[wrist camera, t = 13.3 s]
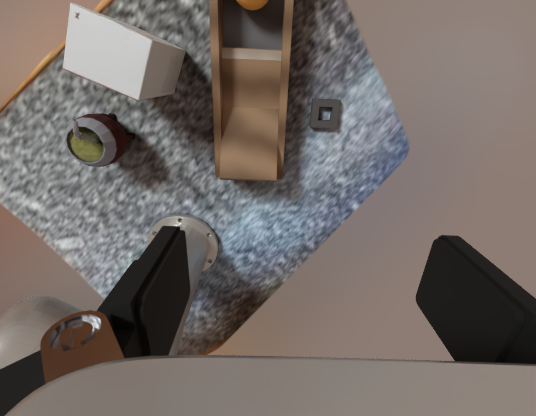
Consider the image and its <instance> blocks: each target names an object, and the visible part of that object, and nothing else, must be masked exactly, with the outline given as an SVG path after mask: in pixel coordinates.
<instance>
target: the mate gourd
mask: <svg viewBox="0 0 536 416" xmlns="http://www.w3.org/2000/svg"><path fill="white" fill-rule="evenodd" d="M134 138H135V134H134V133H125V132H124V130H123V129H122V127H121V126H120V125H119V124H118V123H117V122H116V118H115V114H110V113H109V114H108V115H107V114H87V115H84V116H82V117H79V118H77V119H73V121H72V122H71V123H70V124H69V126H68V127H67V129H66V133H65V143H66V147H67V149H68V151H69V152H70V154H71V155H72V156H73V157H74V158H75V159H76V160H78V161H79V162H81V163H83V164H86V165H88V166H94V167H101V166H106V165H109V164H112V163H115V162H116V161H117V160H118V159H119V158H120V157H121V156H122V155H123V154H124V152H125V149H126V146H127V142H128V141H129V140H130V139H134Z"/></svg>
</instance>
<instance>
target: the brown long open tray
mask: <svg viewBox="0 0 536 416" xmlns="http://www.w3.org/2000/svg"><path fill="white" fill-rule="evenodd" d="M293 3H294V0H268V2H267V3H266V4H265V5H264V6H263V7H262V8H260V9H257V10H248V9H245V8H243V7H242V6H241V5H239V3H238V2H237V1H236V0H209V15H210V41H211V68H212V94H213V121H214V148H215V174H216V177H219V178H220V179H221V180H248V181H275V182H276V179H282V177H283V161H284V145H285V129H286V113H287V98H288V82H289V66H290V50H291V34H292V19H293Z"/></svg>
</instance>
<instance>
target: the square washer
mask: <svg viewBox="0 0 536 416" xmlns="http://www.w3.org/2000/svg"><path fill="white" fill-rule="evenodd" d="M340 102H341V100H333V99H312V107H311V118H310V127H315V128H337V124H338V116H339V109H340ZM319 107H331V115H330V120H318V115H319Z"/></svg>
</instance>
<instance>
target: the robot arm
mask: <svg viewBox="0 0 536 416" xmlns="http://www.w3.org/2000/svg"><path fill="white" fill-rule="evenodd" d="M180 218H181V219H180ZM209 233H210V234H209ZM217 254H218V241H217V237H216V235H215V233H214V232H213V230H212V229H211V228H210V227H209V226H208V225H207V224H206V223H205V222H203V221H202V220H200V219H198V218H196V217H194V216H190V215H185V214H175V215H170V216H166V217H165V218H163V219H161V220H160V221H158V222H157V223H156V224H155V225H154V227H153V228H152V229H151V231H150V233H149V236H148V247H147V248H146V250H145V251H144V252H143V254H142V255H141V256H140V258H139V259H138V260H135V261H134V262H133V263H132V264H131V265H130V266H129V268H128V269H127V270H126V272H125V273H124V274H123V276H122V277H121V279H120V280H119V281H118V283H117V284H116V285H115V287H114V288H113V289H112V291H111V292H110V293H109V295H108V296H107V297H106V299H105V300H104V301H103V303H102V304H101V306H100V307H99V308H98V310H97V311H92V310H89V311H83V310H81V309H79V308H77V307H75V306H73V305H71V304H69V303H67V302H65V301H62V300H60V299H57V298H55V297H51V296H46V295H38V296H32V297H29V298H27V299H25V300H22V301H20V302H19V303H17V304H16V305H14V306H13V307H12V308H10V309H9V310H8V311H7V312H6V313H5V314H3V315H2V316H1V317H0V416H536V299H535V298H534V297H533V296H532V295H530V294H529V293H528V292H527V291H525V290H524V289H523V288H522V287H521V286H519V285H518V284H517V283H516V282H515V281H513V280H512V279H511V278H510V277H508V276H507V275H506V274H505V273H503V272H502V271H501V270H500V269H498V268H497V267H496V266H495V265H494V264H493V263H491V262H490V261H489V260H488V259H486V258H485V257H484V256H483V255H482V254H480V253H479V252H478V251H477V250H475V249H474V248H473V247H472V246H471V245H469V244H468V243H467V242H466V241H464V240H463V239H462V238H461V237H459V236H447V235H441V236H439V237H438V239H436V240H434V242H433V244H432V247H431V251H430V254H429V257H428V260H427V263H426V266H425V269H424V272H423V275H422V278H421V281H420V284H419V287H418V291H417V294H416V302H417V304H418V306H419V308H420V309H421V310H422V312H423V314H424V315H425V317H426V318H427V320H428V321H429V323H430V324H431V326H432V327H433V329H434V330H435V331H436V333H437V335H438V336H439V338H440V339H441V341H442V342H443V344H444V345H445V347H446V348H447V350H448V351H449V353H450V354H451V356H452V357H453V359H454V360H455V361H430V360H394V359H360V358H322V357H321V358H320V357H275V356H272V357H271V356H225V355H224V356H223V355H177V350H178V346H179V342H180V338H181V335H182V331H183V328H184V325H185V322H186V319H187V316H188V313H189V310H190V307H191V304H192V301H193V298H194V295H195V292H196V289H197V286H198V284H199V281H200V278H201V275H202V272H204V271H206V270H207V269H208V268H210V267H211V265H212V264H213V263H214V261H215V260H216V257H217Z"/></svg>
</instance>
